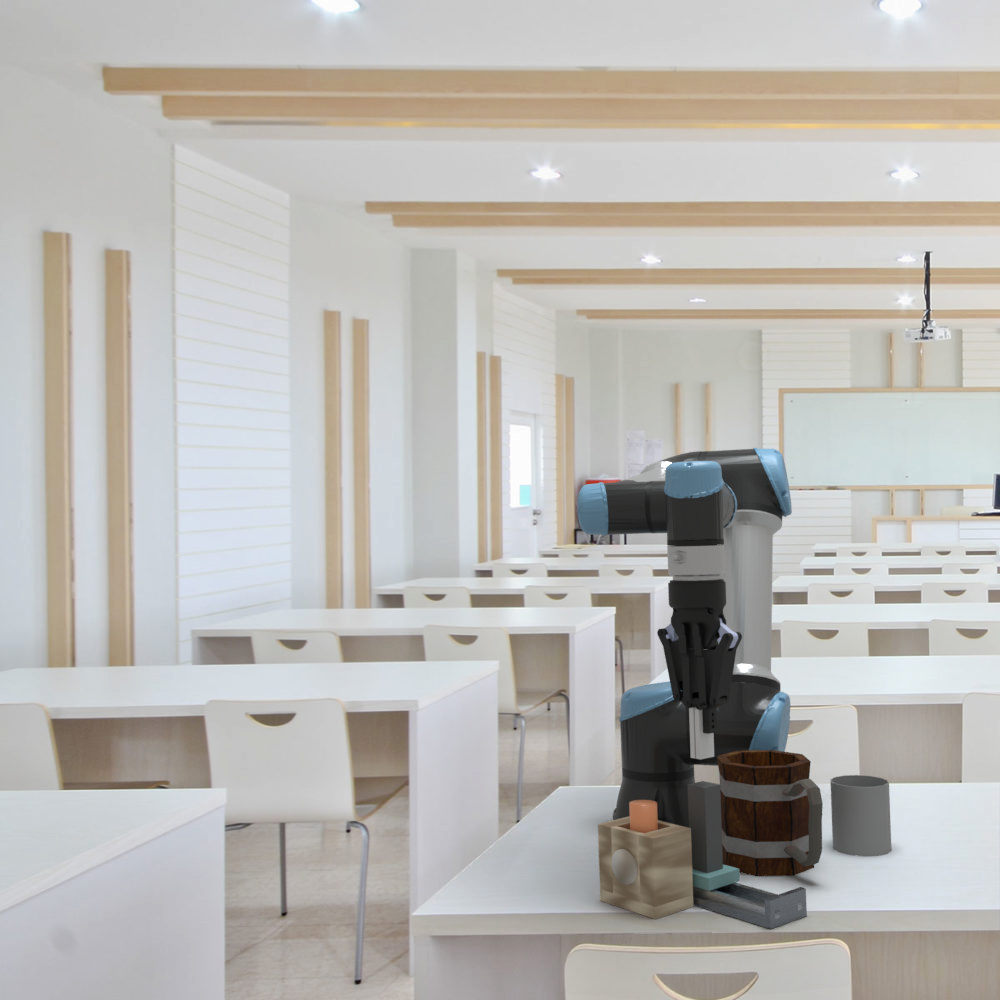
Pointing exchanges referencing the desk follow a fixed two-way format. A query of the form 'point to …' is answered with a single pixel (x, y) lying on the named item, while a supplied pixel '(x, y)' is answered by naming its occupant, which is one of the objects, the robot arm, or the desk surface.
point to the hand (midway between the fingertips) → (702, 756)
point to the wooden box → (645, 868)
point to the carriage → (707, 838)
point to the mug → (769, 813)
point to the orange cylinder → (643, 816)
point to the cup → (860, 815)
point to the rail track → (753, 904)
